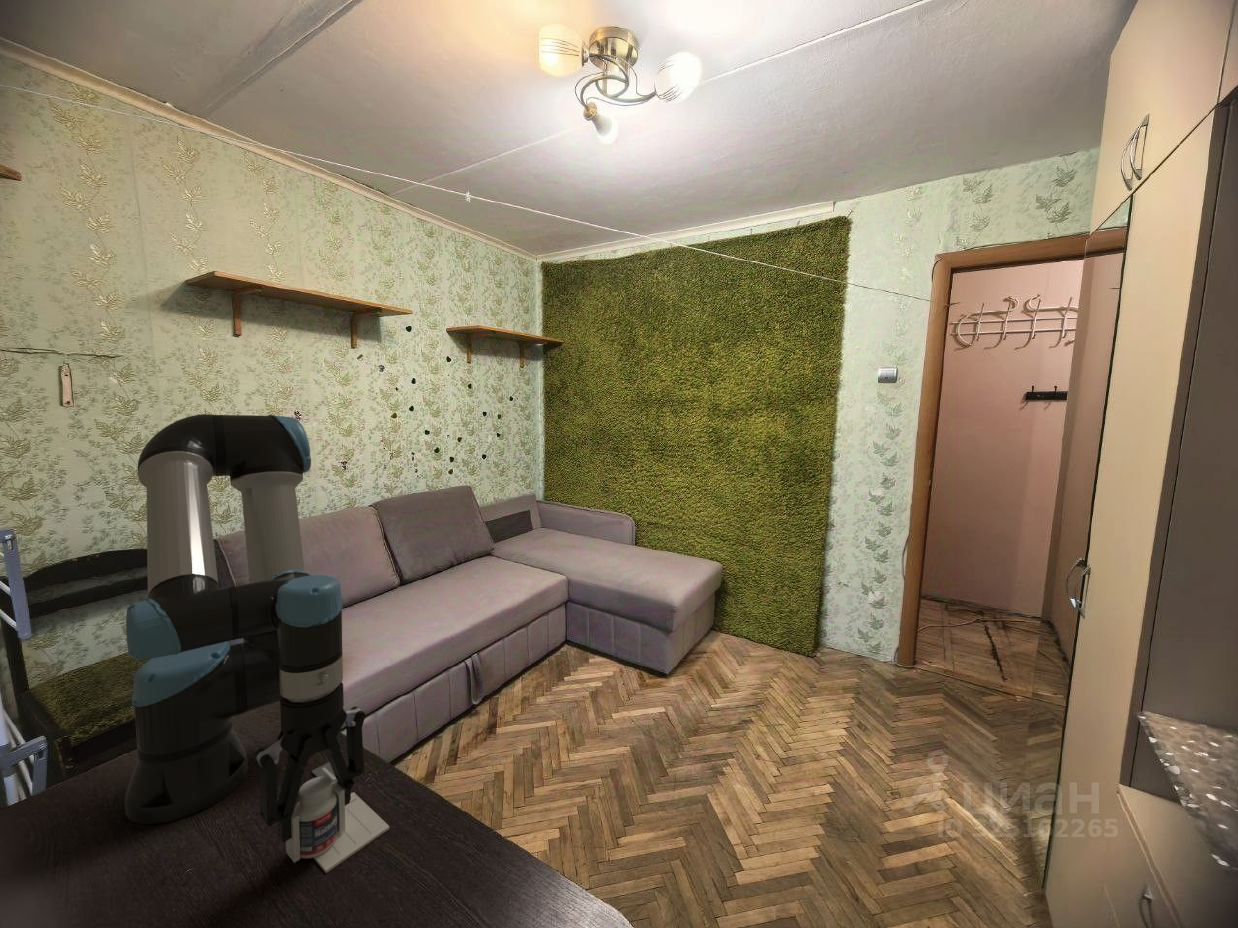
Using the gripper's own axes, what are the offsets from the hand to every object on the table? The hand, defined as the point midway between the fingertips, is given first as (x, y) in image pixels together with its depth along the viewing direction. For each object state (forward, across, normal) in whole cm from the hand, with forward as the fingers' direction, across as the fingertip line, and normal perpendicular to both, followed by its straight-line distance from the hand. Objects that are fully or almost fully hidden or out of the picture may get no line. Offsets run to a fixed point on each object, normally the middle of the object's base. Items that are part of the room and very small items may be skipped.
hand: (316, 840), depth 70 cm
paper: (+1, +3, 0) cm, 4 cm away
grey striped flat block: (+1, +7, +13) cm, 15 cm away
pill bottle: (+1, 0, 0) cm, 1 cm away
